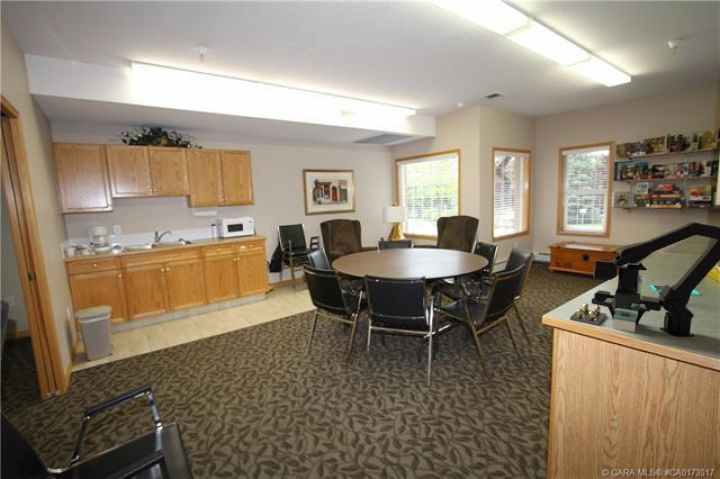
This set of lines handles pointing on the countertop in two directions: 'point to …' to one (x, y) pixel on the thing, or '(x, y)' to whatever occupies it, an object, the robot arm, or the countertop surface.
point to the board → (625, 320)
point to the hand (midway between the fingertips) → (625, 322)
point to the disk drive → (633, 307)
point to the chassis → (589, 315)
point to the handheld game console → (660, 288)
